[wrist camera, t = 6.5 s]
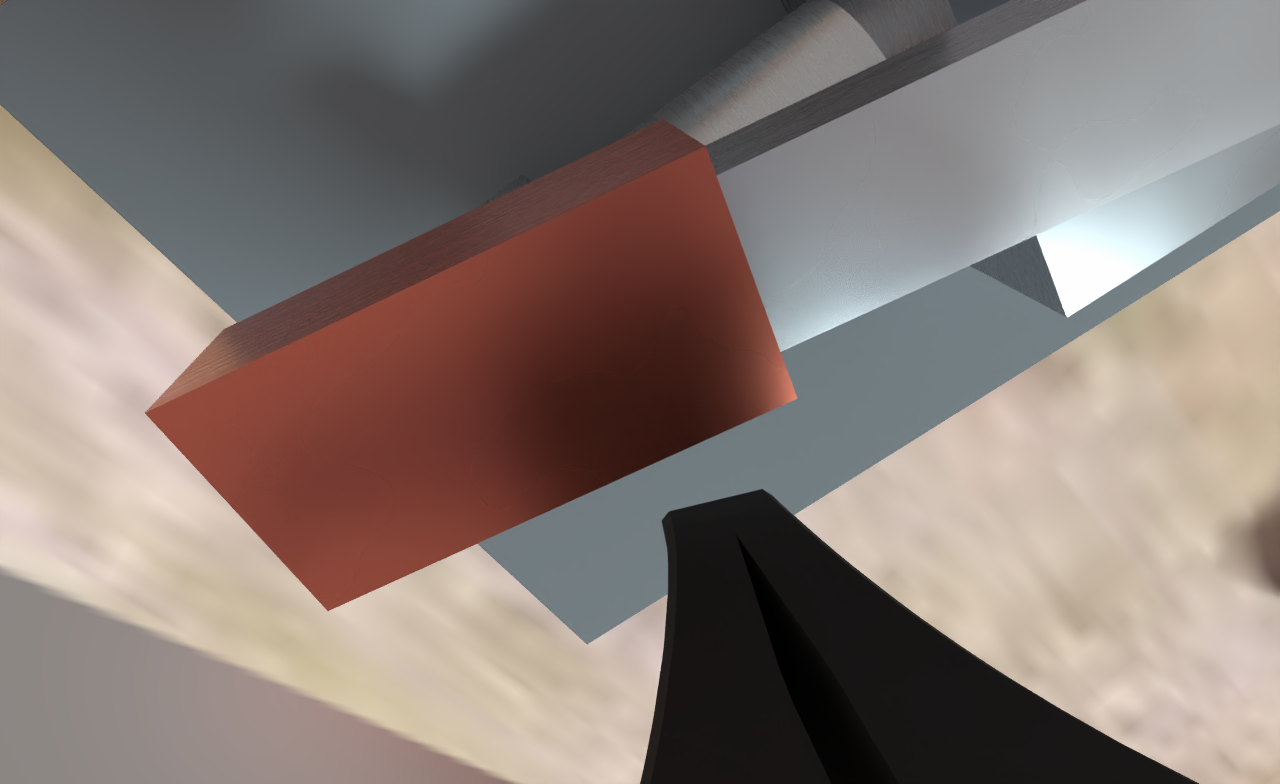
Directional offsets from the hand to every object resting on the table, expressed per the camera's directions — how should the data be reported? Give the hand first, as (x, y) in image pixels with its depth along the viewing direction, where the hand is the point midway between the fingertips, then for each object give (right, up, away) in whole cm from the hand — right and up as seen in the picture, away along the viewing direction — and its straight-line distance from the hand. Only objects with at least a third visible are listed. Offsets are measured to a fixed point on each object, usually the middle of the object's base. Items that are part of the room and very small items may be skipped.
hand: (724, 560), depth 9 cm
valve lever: (+1, +4, -2) cm, 5 cm away
